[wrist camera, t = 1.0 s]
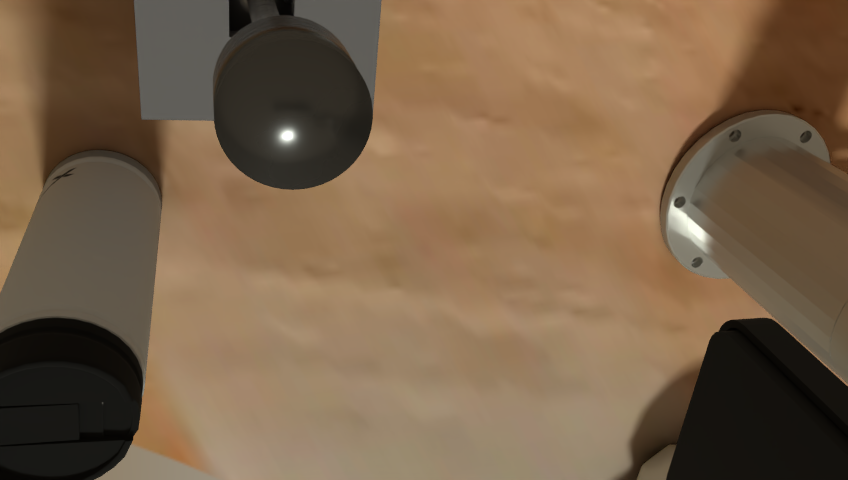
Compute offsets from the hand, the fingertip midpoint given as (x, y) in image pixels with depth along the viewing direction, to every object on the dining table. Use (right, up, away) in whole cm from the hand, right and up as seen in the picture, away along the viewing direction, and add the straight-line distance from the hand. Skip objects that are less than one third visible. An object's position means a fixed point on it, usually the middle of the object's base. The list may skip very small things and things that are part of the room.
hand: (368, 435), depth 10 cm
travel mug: (-18, +5, +35) cm, 40 cm away
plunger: (-6, +12, +22) cm, 26 cm away
